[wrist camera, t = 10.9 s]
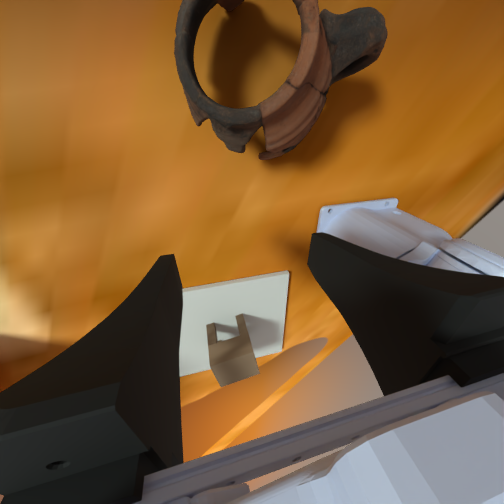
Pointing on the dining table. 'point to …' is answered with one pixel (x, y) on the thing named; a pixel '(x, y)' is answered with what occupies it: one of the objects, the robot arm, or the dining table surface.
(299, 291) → the dining table surface
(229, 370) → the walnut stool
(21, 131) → the dining table surface
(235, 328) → the grey mat
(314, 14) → the pottery mug
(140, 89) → the dining table surface
